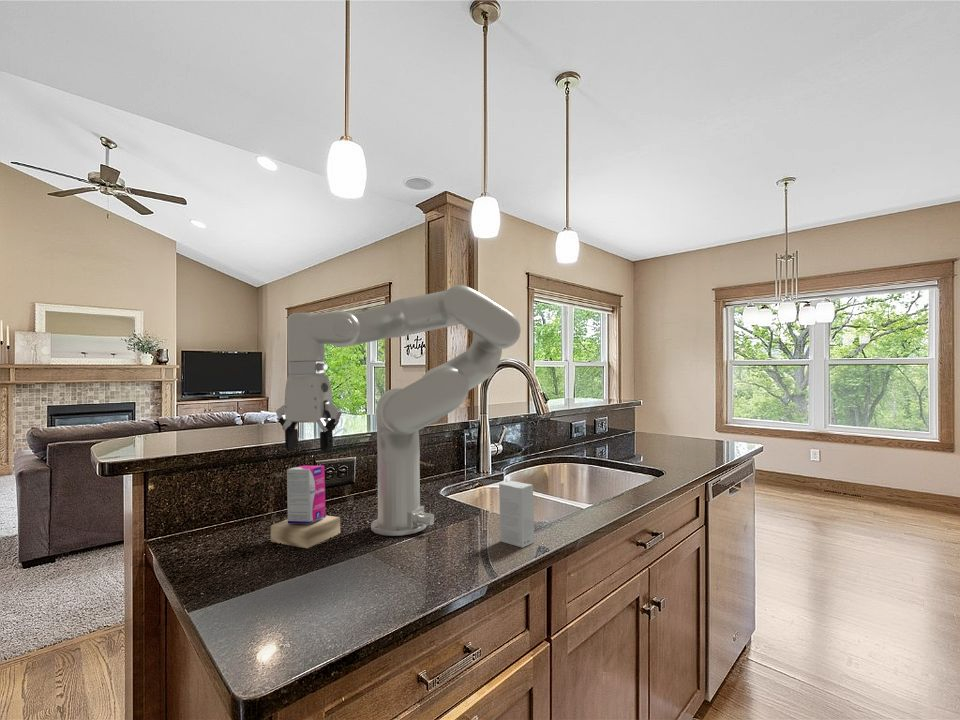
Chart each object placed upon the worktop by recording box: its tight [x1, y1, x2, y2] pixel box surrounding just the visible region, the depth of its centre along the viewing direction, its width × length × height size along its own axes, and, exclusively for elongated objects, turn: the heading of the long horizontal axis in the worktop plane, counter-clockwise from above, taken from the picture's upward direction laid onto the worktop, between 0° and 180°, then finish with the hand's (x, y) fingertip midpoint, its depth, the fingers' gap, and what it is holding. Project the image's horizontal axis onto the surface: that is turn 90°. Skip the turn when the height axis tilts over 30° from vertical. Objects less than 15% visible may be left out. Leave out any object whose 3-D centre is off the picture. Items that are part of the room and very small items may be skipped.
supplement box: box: [286, 464, 327, 524], centre depth 106 cm, size 6×6×12 cm
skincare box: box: [498, 480, 535, 549], centre depth 101 cm, size 6×4×12 cm
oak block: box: [270, 515, 341, 549], centre depth 106 cm, size 10×10×4 cm
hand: (309, 448), depth 106 cm, fingers open, 9 cm apart
